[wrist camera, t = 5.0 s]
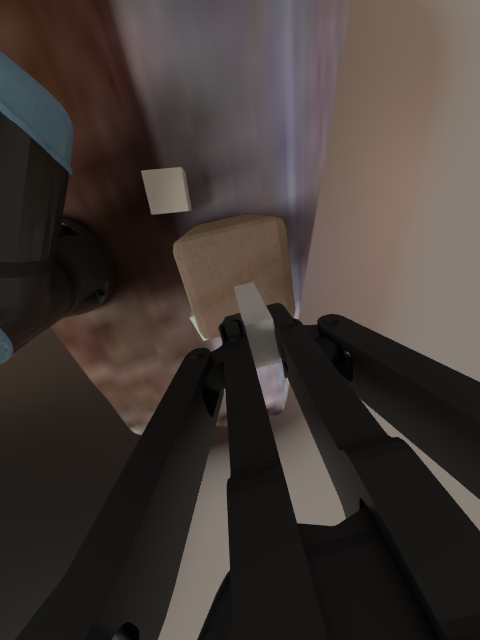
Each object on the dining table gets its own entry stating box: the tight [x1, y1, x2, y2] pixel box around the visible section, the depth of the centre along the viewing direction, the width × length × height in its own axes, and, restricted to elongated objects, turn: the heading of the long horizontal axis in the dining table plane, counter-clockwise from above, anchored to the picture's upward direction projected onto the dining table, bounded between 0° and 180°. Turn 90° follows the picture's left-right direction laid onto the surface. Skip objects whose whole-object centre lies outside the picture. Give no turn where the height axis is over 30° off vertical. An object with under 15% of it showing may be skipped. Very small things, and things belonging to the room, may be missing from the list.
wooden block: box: [173, 213, 295, 339], centre depth 30 cm, size 10×10×20 cm
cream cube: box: [141, 167, 192, 215], centre depth 32 cm, size 5×5×5 cm
